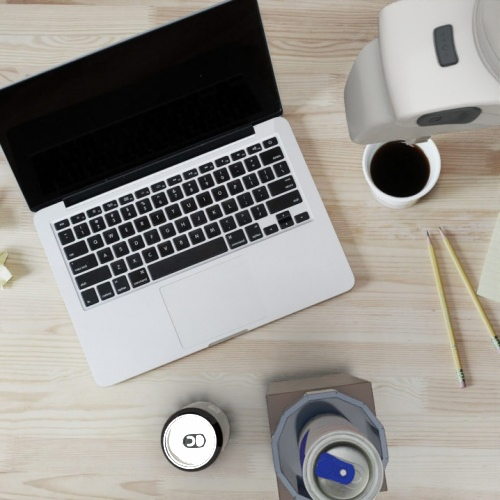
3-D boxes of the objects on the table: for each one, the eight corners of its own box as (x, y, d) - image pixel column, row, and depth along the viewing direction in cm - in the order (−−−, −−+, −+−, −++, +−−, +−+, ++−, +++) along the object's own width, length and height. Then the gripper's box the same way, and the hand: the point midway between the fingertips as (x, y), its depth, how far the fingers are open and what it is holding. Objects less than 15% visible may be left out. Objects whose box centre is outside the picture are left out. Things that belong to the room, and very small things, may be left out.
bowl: (370, 382, 60) (377, 385, 55) (386, 490, 59) (395, 502, 54) (266, 396, 61) (265, 400, 56) (281, 503, 59) (280, 516, 54)
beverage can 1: (232, 456, 86) (223, 473, 74) (175, 459, 86) (158, 476, 75) (229, 399, 87) (220, 406, 75) (173, 402, 87) (156, 409, 76)
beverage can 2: (288, 461, 59) (290, 497, 44) (309, 402, 60) (318, 418, 45) (347, 483, 59) (369, 528, 44) (367, 424, 59) (395, 448, 44)
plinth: (344, 372, 87) (371, 381, 60) (355, 448, 86) (387, 491, 59) (271, 382, 87) (265, 395, 61) (280, 457, 86) (279, 504, 59)
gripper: (740, -46, 37) (618, 61, 51) (350, 10, 38) (333, 101, 51) (769, 68, 36) (636, 146, 50) (369, 123, 37) (346, 186, 50)
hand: (480, 124), depth 51 cm, fingers open, 8 cm apart
